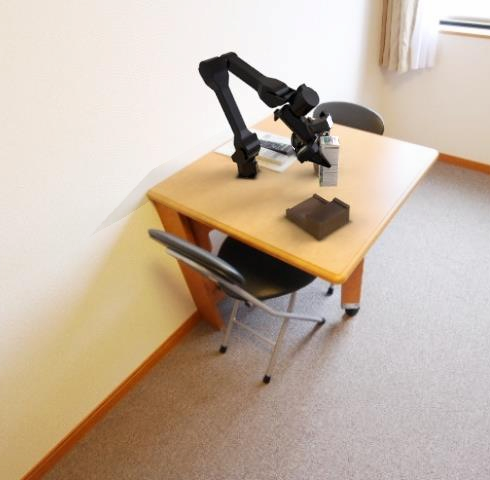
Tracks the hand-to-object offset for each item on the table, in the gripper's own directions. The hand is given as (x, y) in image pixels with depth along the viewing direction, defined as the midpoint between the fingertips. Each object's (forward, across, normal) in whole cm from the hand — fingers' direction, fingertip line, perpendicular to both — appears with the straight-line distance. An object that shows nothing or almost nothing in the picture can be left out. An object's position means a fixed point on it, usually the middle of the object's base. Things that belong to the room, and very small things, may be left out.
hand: (333, 161), depth 108 cm
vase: (+5, +14, +14) cm, 21 cm away
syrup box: (+4, 0, +6) cm, 8 cm away
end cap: (-3, +29, +22) cm, 37 cm away
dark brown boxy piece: (+8, -13, +10) cm, 18 cm away
